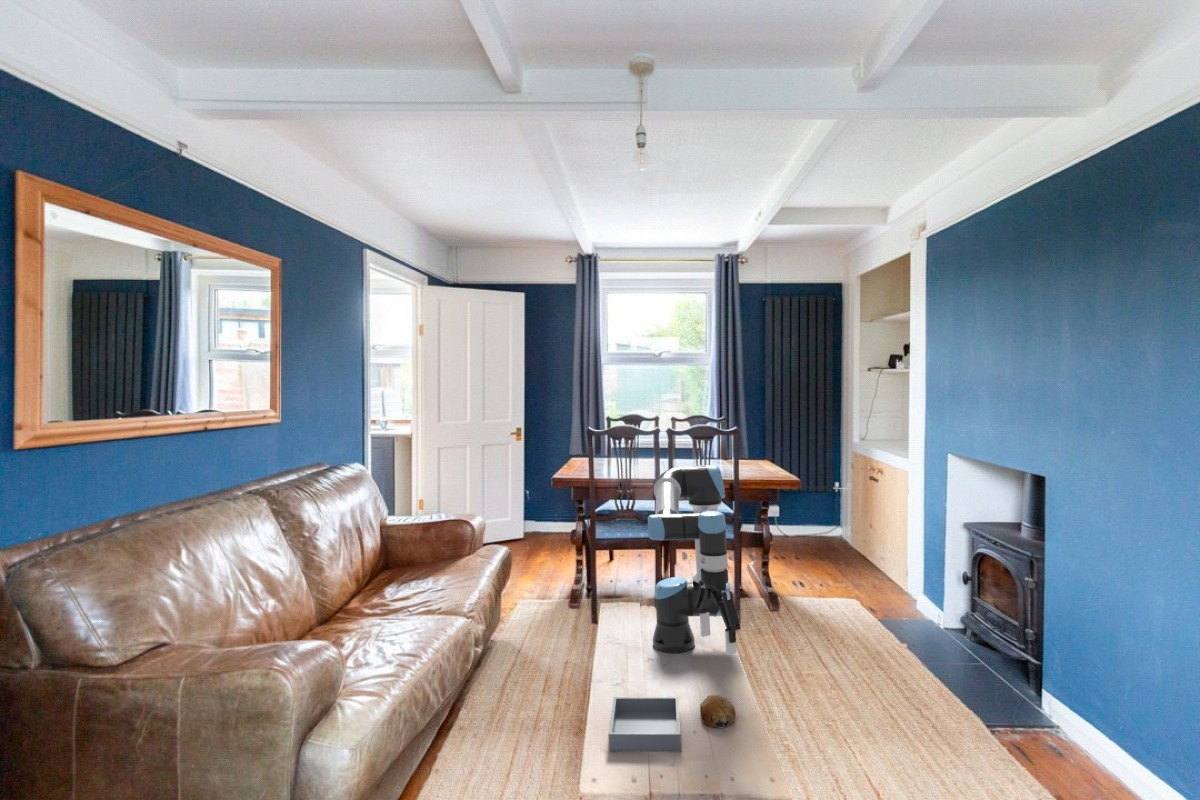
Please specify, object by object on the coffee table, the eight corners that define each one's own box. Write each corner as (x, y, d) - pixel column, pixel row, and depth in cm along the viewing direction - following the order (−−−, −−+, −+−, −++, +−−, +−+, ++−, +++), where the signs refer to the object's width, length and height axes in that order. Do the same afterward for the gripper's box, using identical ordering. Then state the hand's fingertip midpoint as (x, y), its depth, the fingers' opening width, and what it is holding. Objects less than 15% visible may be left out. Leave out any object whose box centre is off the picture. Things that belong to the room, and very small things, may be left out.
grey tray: (614, 712, 174) (613, 697, 174) (678, 712, 172) (678, 696, 172) (609, 751, 155) (608, 734, 155) (681, 751, 153) (680, 734, 153)
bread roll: (737, 727, 169) (737, 696, 172) (733, 730, 160) (733, 697, 163) (702, 723, 172) (703, 692, 175) (696, 725, 163) (697, 693, 167)
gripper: (681, 559, 177) (684, 631, 177) (726, 582, 154) (730, 664, 153) (703, 556, 180) (707, 626, 179) (751, 578, 156) (755, 659, 156)
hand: (718, 644), depth 166 cm, fingers open, 13 cm apart
